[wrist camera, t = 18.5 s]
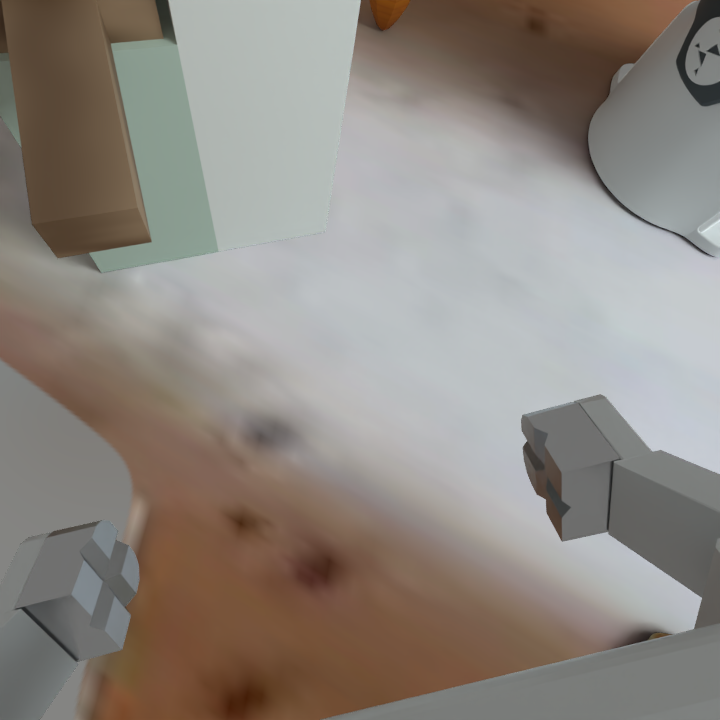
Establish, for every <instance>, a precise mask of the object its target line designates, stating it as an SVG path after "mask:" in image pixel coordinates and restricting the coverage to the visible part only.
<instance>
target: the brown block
mask: <svg viewBox="0 0 720 720" xmlns="http://www.w3.org/2000/svg"><path fill="white" fill-rule="evenodd" d="M155 39H164V38H163V33H162V29H161V24H160V20H159V15H158V11H157V6H156V2H155V0H0V53H9V60H10V68H11V75H12V82H13V90H14V97H15V104H16V112H17V119H18V126H19V133H20V141H21V148H22V155H23V163H24V170H25V177H26V185H27V192H28V199H29V206H30V214H31V221H32V225H33V226H34V228H35V229H36V230H37V232H38V233H39V234H40V236H41V237H42V238H43V239H44V241H45V242H46V243H47V245H48V246H49V247H50V249H51V250H52V251H53V253H54V254H55V255H56V256H57V258H62V257H68V256H74V255H80V254H86V253H91V252H97V251H103V250H109V249H115V248H121V247H127V246H132V245H138V244H144V243H150V242H152V240H151V236H150V231H149V226H148V221H147V216H146V211H145V207H144V202H143V197H142V192H141V187H140V182H139V178H138V173H137V168H136V163H135V158H134V153H133V149H132V144H131V139H130V134H129V129H128V124H127V120H126V115H125V110H124V105H123V100H122V95H121V91H120V86H119V81H118V76H117V71H116V66H115V62H114V57H113V52H112V47H111V43H121V42H133V41H144V40H155Z"/></svg>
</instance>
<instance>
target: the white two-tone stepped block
mask: <svg viewBox="0 0 720 720" xmlns="http://www.w3.org/2000/svg"><path fill="white" fill-rule="evenodd" d="M155 2H156V6H157V11H158V15H159V20H160V24H161V29H162V33H163V38H164V39H155V40H144V41H133V42H121V43H111V47H112V52H113V57H114V62H115V66H116V71H117V76H118V81H119V86H120V91H121V95H122V100H123V105H124V110H125V115H126V120H127V124H128V129H129V134H130V139H131V144H132V149H133V153H134V158H135V163H136V168H137V173H138V178H139V182H140V187H141V192H142V197H143V202H144V207H145V211H146V216H147V221H148V226H149V231H150V236H151V240H152V242H150V243H144V244H138V245H132V246H127V247H121V248H115V249H109V250H103V251H97V252H91V253H89V254H90V256H91V257H92V259H93V261H94V262H95V264H96V265H97V267H98V268H99V270H100V271H101V273H103V272H108V271H114V270H119V269H125V268H131V267H136V266H142V265H147V264H153V263H158V262H164V261H169V260H175V259H181V258H186V257H192V256H197V255H203V254H208V253H214V252H219V251H225V250H230V249H236V248H242V247H247V246H253V245H258V244H264V243H269V242H275V241H280V240H286V239H292V238H297V237H303V236H308V235H314V234H319V233H325V231H326V225H327V218H328V212H329V205H330V199H331V192H332V186H333V179H334V173H335V166H336V160H337V153H338V147H339V140H340V134H341V127H342V120H343V114H344V107H345V101H346V94H347V88H348V81H349V75H350V68H351V62H352V55H353V49H354V42H355V36H356V29H357V23H358V16H359V9H360V3H361V0H155ZM0 116H1V118H2V119H3V121H4V122H5V124H6V125H7V127H8V129H9V130H10V132H11V133H12V135H13V136H14V138H15V139H16V141H17V143H18V144H19V146H20V147H21V141H20V133H19V126H18V119H17V112H16V104H15V97H14V90H13V82H12V75H11V68H10V60H9V53H0ZM21 149H22V148H21Z"/></svg>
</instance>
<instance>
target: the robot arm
mask: <svg viewBox="0 0 720 720" xmlns="http://www.w3.org/2000/svg"><path fill="white" fill-rule="evenodd" d="M588 144H589V150H590V155H591V158H592V161H593V164H594V166H595V168H596V170H597V172H598V174H599V176H600V178H601V179H602V181H603V182H604V184H605V185H606V187H607V188H608V189H609V190H610V192H611V193H612V194H613V195H614V196H615V197H616V198H617V199H618V200H619V201H620V202H621V203H622V204H623V205H624V206H626V207H627V208H628V209H629V210H631V211H632V212H634V213H635V214H636V215H638V216H640V217H641V218H643V219H645V220H646V221H648V222H650V223H652V224H655V225H657V226H659V227H662V228H665V229H667V230H670V231H673V232H676V233H678V234H680V235H682V236H684V237H686V238H687V239H688V240H690V241H691V242H692V243H693V244H695V245H696V246H697V247H699V248H700V249H702V250H703V251H704V252H706V253H708V254H710V255H712V256H715V257H720V0H700V1H693V2H691V3H690V4H688V5H687V6H686V7H685V8H684V9H683V10H682V11H681V12H680V13H679V14H678V15H677V17H676V18H675V19H674V20H673V21H672V22H671V23H670V24H669V26H668V27H667V28H666V29H665V30H664V31H663V32H662V33H661V35H660V36H659V37H658V38H657V39H656V40H655V41H654V42H653V44H652V45H651V46H650V47H649V48H648V49H647V51H646V52H645V53H644V54H643V55H642V56H641V57H640V59H639V60H638V61H637V62H636V63H635V64H631V63H630V64H624V65H623V66H622V67H621V68H620V69H619V70H618V71H617V72H616V73H615V75H614V76H613V78H612V82H611V88H610V94H609V96H608V98H607V99H606V100H605V101H604V102H603V104H602V105H601V106H600V107H599V108H598V109H597V111H596V112H595V114H594V116H593V118H592V120H591V123H590V127H589V133H588ZM521 427H522V432H523V434H524V436H525V437H526V439H527V442H526V443H525V445H524V446H523V455H524V462H525V466H526V470H527V474H528V476H529V479H530V481H531V484H532V486H533V488H534V490H535V492H536V494H537V495H539V496H541V497H543V498H544V499H546V510H547V514H548V516H549V518H550V520H551V522H552V524H553V526H554V527H555V529H556V531H557V533H558V535H559V537H560V539H561V540H562V542H563V541H567V540H572V539H577V538H581V537H586V536H590V535H595V534H600V533H604V532H608V534H609V535H611V536H612V537H614V538H615V539H617V540H618V541H619V542H621V543H622V544H624V545H625V546H627V547H628V548H630V549H631V550H633V551H634V552H636V553H637V554H639V555H640V556H641V557H643V558H644V559H646V560H647V561H649V562H650V563H652V564H653V565H655V566H656V567H658V568H659V569H661V570H662V571H664V572H665V573H666V574H668V575H669V576H671V577H672V578H674V579H675V580H677V581H678V582H680V583H681V584H683V585H684V586H686V587H687V588H688V589H690V590H691V591H693V592H694V593H696V594H697V595H699V596H700V597H702V601H701V604H700V608H699V612H698V616H697V620H696V624H695V628H694V629H693V630H689V631H685V632H681V633H677V634H673V635H669V636H665V637H660V638H656V639H652V640H648V641H644V642H640V643H636V644H631V645H627V646H623V647H619V648H615V649H611V650H607V651H603V652H598V653H594V654H590V655H586V656H582V657H578V658H574V659H569V660H565V661H561V662H557V663H553V664H549V665H545V666H541V667H536V668H532V669H528V670H524V671H520V672H516V673H512V674H507V675H503V676H499V677H495V678H491V679H487V680H482V681H478V682H474V683H470V684H466V685H462V686H458V687H453V688H449V689H445V690H441V691H437V692H433V693H429V694H424V695H420V696H416V697H412V698H408V699H404V700H400V701H395V702H391V703H387V704H383V705H379V706H375V707H370V708H366V709H362V710H358V711H354V712H350V713H346V714H342V715H337V716H333V717H329V718H325V719H321V720H720V474H717V473H715V472H712V471H710V470H708V469H705V468H703V467H700V466H698V465H696V464H693V463H691V462H688V461H686V460H683V459H681V458H679V457H676V456H674V455H671V454H669V453H667V452H664V451H662V450H659V451H655V452H652V451H651V449H650V448H649V447H648V446H647V445H646V444H645V442H644V441H643V440H642V439H641V438H640V437H639V435H638V434H637V433H636V432H635V431H634V430H633V428H632V427H631V426H630V425H629V424H628V423H627V421H626V420H625V419H624V418H623V417H622V415H621V414H620V413H619V412H618V411H617V410H616V408H615V407H614V406H613V405H612V404H611V403H610V401H609V400H608V399H607V398H606V397H605V396H603V395H601V394H600V395H596V396H592V397H588V398H585V399H581V400H577V401H574V402H570V403H566V404H562V405H558V406H555V407H551V408H547V409H543V410H539V411H535V412H532V413H528V414H524V415H522V419H521ZM117 534H118V530H117V529H116V528H115V527H114V525H113V524H112V523H111V522H110V521H108V520H101V521H97V522H92V523H88V524H83V525H79V526H75V527H70V528H66V529H62V530H57V531H53V532H51V533H46V534H42V535H37V536H32V537H28V538H27V539H26V540H25V541H23V542H22V543H21V544H20V546H19V548H18V550H17V552H16V554H15V556H14V558H13V560H12V562H11V564H10V566H9V568H8V570H7V573H6V575H5V577H4V579H3V581H2V583H1V585H0V720H40V719H41V718H42V716H43V715H44V713H45V712H46V710H47V709H48V707H49V706H50V704H51V703H52V702H53V700H54V699H55V697H56V696H57V695H58V693H59V692H60V690H61V689H62V687H63V686H64V684H65V683H66V682H67V680H68V679H69V677H70V676H71V674H72V673H73V672H74V670H75V669H76V667H77V666H78V663H77V662H79V661H82V660H86V659H90V658H94V657H97V656H101V655H105V654H108V653H112V652H115V651H119V650H122V648H123V644H124V640H125V636H126V632H127V628H128V625H129V621H130V617H131V615H130V613H129V611H128V610H127V608H126V605H127V604H128V603H129V602H130V600H131V599H132V598H133V597H134V596H135V594H136V592H137V588H138V583H139V564H138V561H137V559H136V556H135V553H134V552H133V550H132V549H131V548H130V546H129V545H127V544H124V543H122V542H119V541H117V540H116V537H117Z"/></svg>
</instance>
